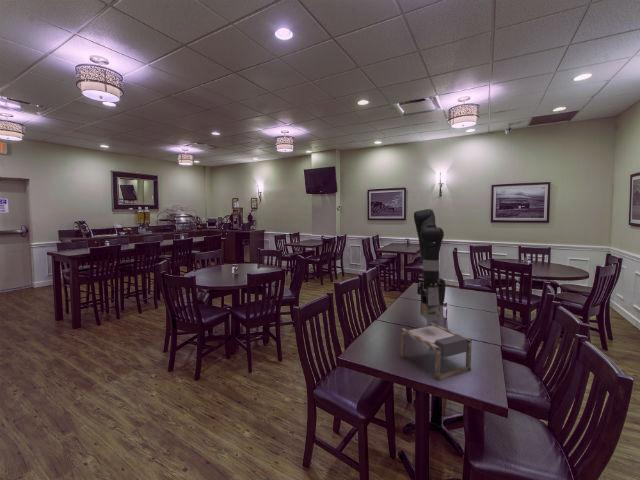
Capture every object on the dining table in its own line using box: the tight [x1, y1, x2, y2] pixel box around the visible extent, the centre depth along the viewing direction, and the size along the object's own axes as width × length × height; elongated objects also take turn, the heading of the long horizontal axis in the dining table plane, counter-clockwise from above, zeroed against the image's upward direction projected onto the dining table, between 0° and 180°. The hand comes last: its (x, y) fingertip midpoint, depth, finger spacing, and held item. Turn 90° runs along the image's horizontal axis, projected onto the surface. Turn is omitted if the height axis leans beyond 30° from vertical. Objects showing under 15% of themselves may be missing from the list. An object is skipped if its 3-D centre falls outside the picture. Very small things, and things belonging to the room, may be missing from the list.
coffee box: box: [419, 285, 441, 321], centre depth 147 cm, size 9×6×16 cm
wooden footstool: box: [400, 323, 473, 381], centre depth 146 cm, size 24×20×14 cm
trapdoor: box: [408, 326, 467, 359], centre depth 144 cm, size 22×16×6 cm
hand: (430, 302), depth 148 cm, fingers closed on coffee box, 7 cm apart
